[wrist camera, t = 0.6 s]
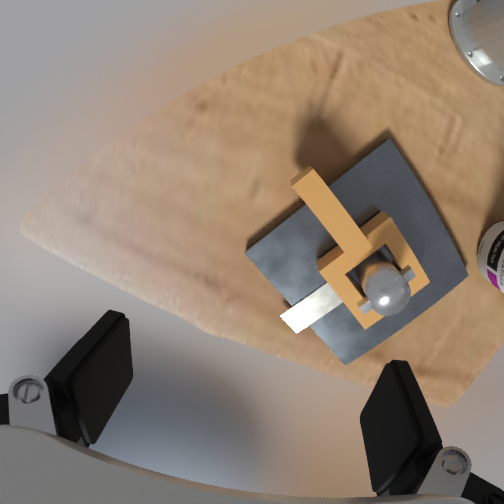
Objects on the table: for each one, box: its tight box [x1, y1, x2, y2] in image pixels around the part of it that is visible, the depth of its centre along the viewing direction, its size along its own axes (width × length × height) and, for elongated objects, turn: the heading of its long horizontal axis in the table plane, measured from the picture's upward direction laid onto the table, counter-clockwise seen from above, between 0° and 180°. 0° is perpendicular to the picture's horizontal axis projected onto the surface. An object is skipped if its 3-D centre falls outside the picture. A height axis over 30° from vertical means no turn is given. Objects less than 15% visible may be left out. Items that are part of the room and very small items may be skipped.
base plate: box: [245, 138, 469, 365], centre depth 31 cm, size 22×20×9 cm
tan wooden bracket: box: [290, 166, 430, 330], centre depth 30 cm, size 9×18×5 cm, turn 41°
